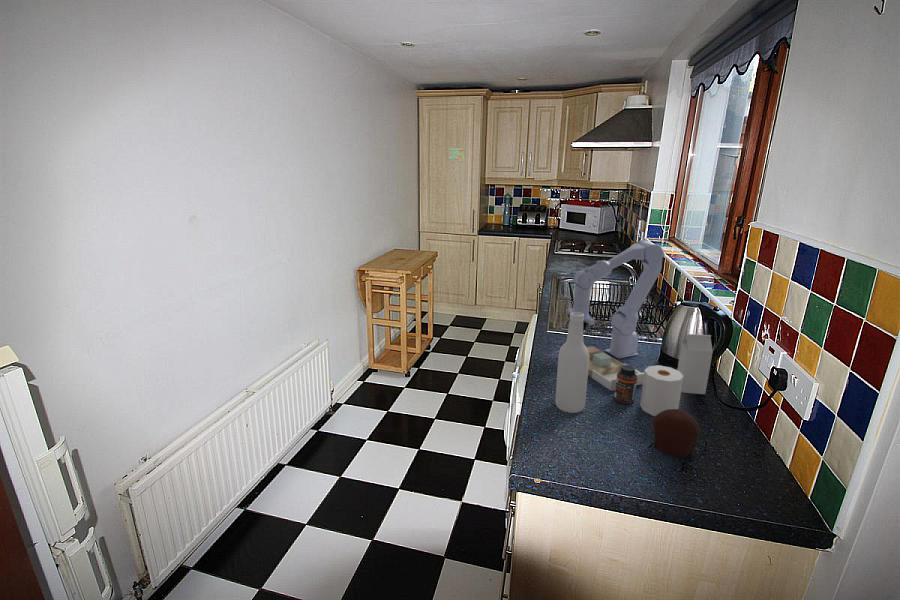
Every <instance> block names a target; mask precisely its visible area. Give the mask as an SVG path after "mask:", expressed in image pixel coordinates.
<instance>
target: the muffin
mask: <svg viewBox="0 0 900 600" xmlns="http://www.w3.org/2000/svg"><path fill="white" fill-rule="evenodd" d="M652 424H653V425H652V426H653V427H654V429H653V432H654V433H653V434H654V445H655V446H654V448H656V449H657V450H659V451H660V452H661V453H662V454H665V455H666V456H667V455H668V456H670V457H673V458H686V457H688V456H690V455H692V453H693V450H694V448H695V447H696V444H697V441H698V438H699V436H700V434H701V432H702V429H701V427H700V426H699V424H698V422H697V420H696V419H695V418H694V417H693V416H692V415H691V414H690V413H689V412H686V411H684V410H682V409H679V408H678V409H667V410H664V411H662V412H660V413H659V414H657V415H656V416H653V418H652Z"/></svg>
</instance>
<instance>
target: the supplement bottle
mask: <svg viewBox="0 0 900 600" xmlns="http://www.w3.org/2000/svg"><path fill="white" fill-rule="evenodd" d="M635 369H636V367H634V366H632V365H631V364H627V365H623V366H621V371H619V372H618V373H617V378H616V387H615V391H614V396H613V397H614V400H615V401H616V402H618V403H621V404H623V405H630V404H633V403H634V402H635V397H636V391H637V386H636V384H637V375H636V374H635Z"/></svg>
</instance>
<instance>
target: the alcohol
mask: <svg viewBox="0 0 900 600" xmlns="http://www.w3.org/2000/svg"><path fill="white" fill-rule="evenodd" d="M583 321H584V314H583V313H580V312H572V313H570V314H569V323H568V329H567V335H566V337H567V338H566V340H565V343H564V344H562V345H561V347H560V348H559V351H558V358H557V371H556V374H557V375H556V387H555V403H554V404H555V405H556V408H558V410H560V411H561V410H562V412H564V413H567V412H568V413H567V414H578V413H581V412H582V411H583V410H584V409H585V407H586V398H587V388H588V377H589V376H588V367H589V351H588V349H587V346H586V345H585V343H584V332H583Z"/></svg>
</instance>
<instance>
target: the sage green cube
mask: <svg viewBox="0 0 900 600" xmlns="http://www.w3.org/2000/svg"><path fill="white" fill-rule="evenodd" d="M605 353H606V352H604V353H598V354H593V360H592V362H593V363H595V364H596V365H598V366H599V367H604V366H609V365H611V360H612V358H613V357H612V356H611V355H609V354H607V353H606V354H605ZM610 356H611V357H610Z"/></svg>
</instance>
